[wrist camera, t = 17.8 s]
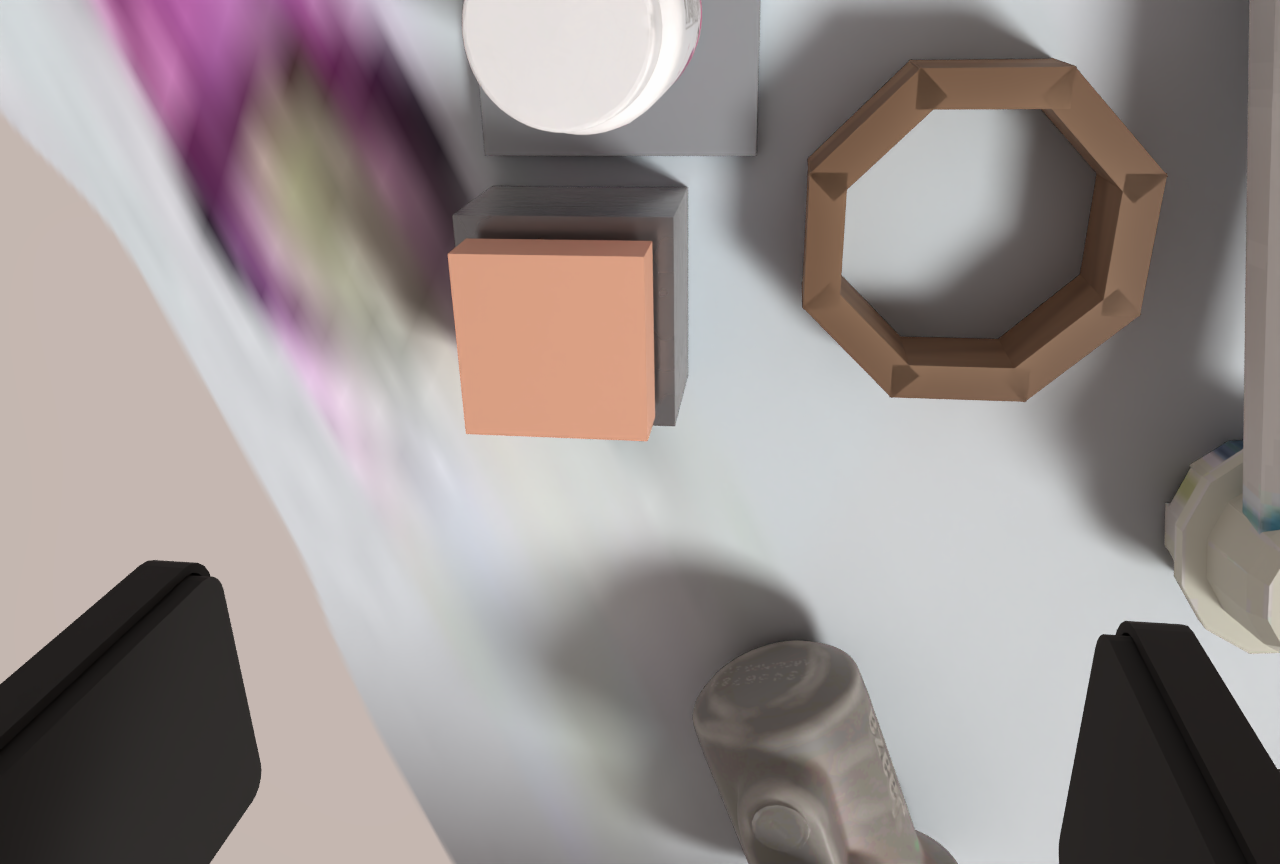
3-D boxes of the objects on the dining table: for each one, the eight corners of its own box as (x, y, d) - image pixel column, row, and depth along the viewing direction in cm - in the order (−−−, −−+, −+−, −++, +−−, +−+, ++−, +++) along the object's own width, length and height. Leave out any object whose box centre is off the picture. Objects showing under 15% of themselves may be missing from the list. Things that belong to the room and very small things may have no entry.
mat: (756, 153, 29) (755, 155, 29) (489, 152, 30) (485, 155, 30) (764, -166, 26) (764, -168, 25) (464, -153, 27) (459, -155, 27)
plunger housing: (688, 375, 32) (675, 426, 29) (507, 369, 33) (472, 418, 30) (688, 187, 30) (673, 217, 26) (492, 186, 31) (452, 215, 27)
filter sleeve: (1099, 373, 31) (1123, 405, 28) (797, 364, 32) (797, 394, 30) (1156, 56, 27) (1189, 64, 25) (812, 60, 28) (813, 68, 26)
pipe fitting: (979, 864, 39) (997, 1117, 29) (779, 881, 41) (738, 1118, 32) (896, 591, 36) (887, 776, 26) (687, 629, 39) (612, 809, 29)
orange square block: (669, 372, 31) (647, 441, 27) (513, 367, 32) (465, 433, 27) (667, 211, 29) (644, 256, 25) (500, 210, 30) (447, 253, 25)
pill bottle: (592, 136, 29) (522, 195, 22) (501, -17, 28) (393, -13, 20) (736, 47, 28) (716, 75, 20) (648, -121, 26) (590, -158, 19)
